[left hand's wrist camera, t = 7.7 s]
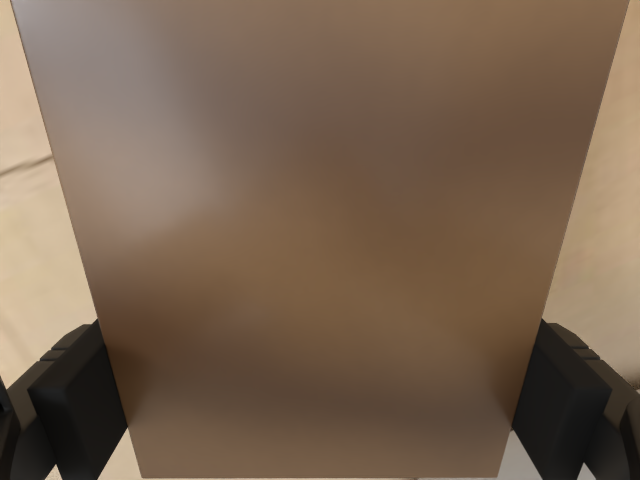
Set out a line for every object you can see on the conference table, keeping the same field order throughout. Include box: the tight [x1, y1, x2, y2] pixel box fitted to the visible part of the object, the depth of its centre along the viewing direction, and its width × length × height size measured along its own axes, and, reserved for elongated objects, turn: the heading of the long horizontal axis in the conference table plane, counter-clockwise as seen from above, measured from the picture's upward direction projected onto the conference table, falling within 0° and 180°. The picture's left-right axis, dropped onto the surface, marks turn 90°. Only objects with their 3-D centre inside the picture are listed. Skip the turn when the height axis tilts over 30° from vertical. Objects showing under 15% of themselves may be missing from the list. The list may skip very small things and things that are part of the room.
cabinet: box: [10, 0, 629, 478], centre depth 12 cm, size 20×10×12 cm, turn 0°
